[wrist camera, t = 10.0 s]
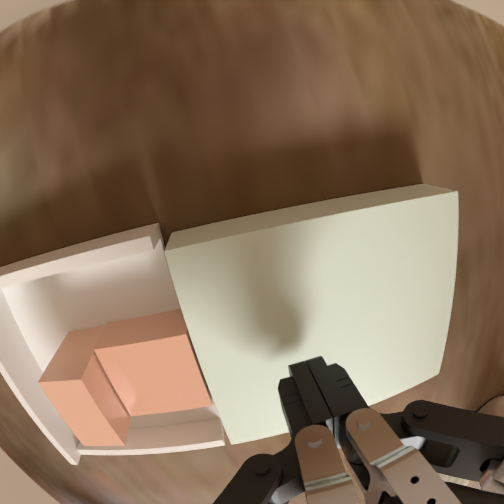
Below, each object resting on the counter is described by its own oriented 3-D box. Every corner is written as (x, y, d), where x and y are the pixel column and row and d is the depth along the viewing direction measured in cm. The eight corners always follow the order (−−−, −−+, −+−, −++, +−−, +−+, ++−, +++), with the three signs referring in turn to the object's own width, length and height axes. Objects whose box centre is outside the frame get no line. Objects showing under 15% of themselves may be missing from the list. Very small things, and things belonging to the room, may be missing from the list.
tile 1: (188, 307, 15) (186, 334, 12) (210, 374, 16) (212, 405, 14) (107, 322, 14) (93, 349, 12) (137, 386, 16) (131, 416, 13)
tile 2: (80, 379, 10) (38, 382, 10) (125, 445, 12) (84, 445, 11) (106, 325, 14) (69, 331, 14) (136, 388, 16) (101, 391, 16)
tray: (158, 222, 14) (145, 242, 11) (221, 417, 18) (226, 457, 15) (-6, 269, 13) (-39, 292, 10) (81, 430, 17) (71, 464, 14)
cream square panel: (423, 183, 15) (458, 191, 12) (416, 351, 19) (438, 373, 16) (172, 232, 14) (164, 251, 11) (226, 410, 18) (231, 444, 15)
